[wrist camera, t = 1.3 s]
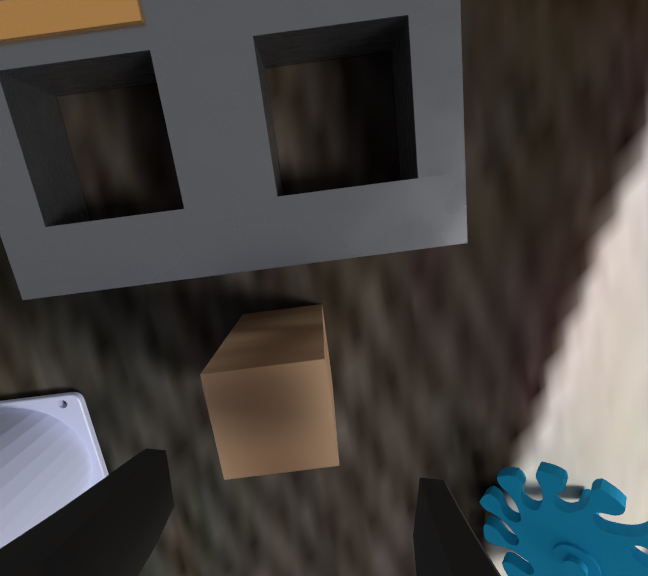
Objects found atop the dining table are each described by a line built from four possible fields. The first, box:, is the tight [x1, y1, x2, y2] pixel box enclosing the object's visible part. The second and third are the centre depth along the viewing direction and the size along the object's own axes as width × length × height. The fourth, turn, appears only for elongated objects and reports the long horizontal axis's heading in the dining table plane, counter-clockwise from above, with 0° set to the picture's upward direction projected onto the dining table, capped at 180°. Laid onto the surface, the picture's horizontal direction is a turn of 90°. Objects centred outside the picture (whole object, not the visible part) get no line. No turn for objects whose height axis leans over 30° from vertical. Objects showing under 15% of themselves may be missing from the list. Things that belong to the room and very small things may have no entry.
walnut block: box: [200, 304, 339, 480], centre depth 16 cm, size 4×4×7 cm
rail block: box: [0, 0, 467, 300], centre depth 15 cm, size 20×12×3 cm, turn 97°
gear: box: [480, 462, 648, 576], centre depth 20 cm, size 11×6×10 cm
